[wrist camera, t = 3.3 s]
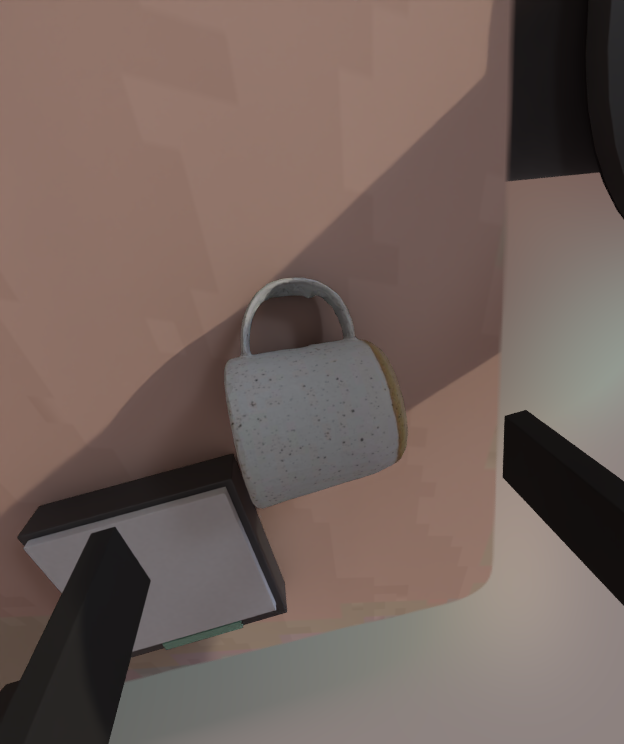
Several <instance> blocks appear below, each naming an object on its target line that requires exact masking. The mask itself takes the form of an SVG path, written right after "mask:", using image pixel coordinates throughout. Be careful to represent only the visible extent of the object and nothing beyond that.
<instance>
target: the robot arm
mask: <svg viewBox="0 0 624 744" xmlns="http://www.w3.org/2000/svg"><path fill="white" fill-rule="evenodd" d="M503 478H504V479H505V480H506V481H507V482H508V483H509V484H510V486H511V487H512V488H513V489H514V490H515V491H516V492H517V493H518V494H519V495H520V496H521V497H522V498H523V499H524V500H525V501H526V502H527V504H528V505H530V507H531V508H532V509H533V510H534V511H535V512H536V513H537V514H538V515H539V516H540V517H541V518H542V519H543V521H544V522H545V523H546V524H547V525H548V526H549V527H550V528H551V529H552V530H553V531H554V532H555V533H556V534H557V535H558V536H559V537H560V539H561V540H562V541H563V542H565V544H566V545H567V546H568V547H569V548H570V549H571V550H572V551H573V552H574V553H575V554H576V556H577V557H578V558H579V559H580V560H581V561H582V562H583V563H584V564H585V565H586V566H587V567H588V568H589V569H590V570H591V571H592V573H593V574H594V575H595V576H596V577H597V578H598V579H599V580H600V581H601V582H602V583H603V584H604V585H605V586H606V587H607V588H608V589H609V591H610V592H611V593H612V594H613V595H614V596H615V597H616V598H617V599H618V600H619V601H620V602H621V603H622V604H623V605H624V481H623V480H621V479H620V478H619V477H617V476H616V475H615V474H613V473H612V472H610V471H609V470H608V469H606V468H605V467H604V466H602V465H601V464H599V463H598V462H597V461H595V460H594V459H593V458H591V457H590V456H588V455H587V454H586V453H584V452H583V451H582V450H580V449H579V448H577V447H576V446H575V445H573V444H572V443H570V442H569V441H568V440H567V439H565V438H564V437H562V436H561V435H560V434H558V433H557V432H556V431H554V430H553V429H551V428H550V427H549V426H547V425H546V424H545V423H543V422H542V421H540V420H539V419H538V418H536V417H535V416H534V415H532V414H531V413H529V412H528V411H527V410H524V411H521V412H517V413H514V414H510V415H507V416H505V423H504V455H503ZM150 582H151V580H150V578H149V577H148V575H147V574H146V572H145V571H144V569H143V568H142V566H141V565H140V563H139V562H138V560H137V559H136V557H135V556H134V554H133V553H132V551H131V550H130V548H129V547H128V545H127V544H126V542H125V541H124V539H123V538H122V536H121V534H120V533H119V531H118V530H117V528H116V527H112V528H108V529H105V530H101V531H98V532H94V533H91V534H90V537H89V539H88V541H87V543H86V545H85V547H84V549H83V551H82V553H81V555H80V557H79V559H78V561H77V563H76V566H75V568H74V570H73V572H72V574H71V576H70V578H69V580H68V582H67V584H66V586H65V588H64V590H63V592H62V595H61V597H60V599H59V601H58V603H57V605H56V607H55V609H54V611H53V613H52V615H51V617H50V619H49V621H48V624H47V626H46V628H45V630H44V632H43V634H42V636H41V638H40V640H39V642H38V644H37V646H36V648H35V650H34V653H33V655H32V657H31V659H30V661H29V663H28V665H27V667H26V669H25V671H24V673H23V675H22V677H21V679H20V681H17V682H13V683H10V684H7V685H5V686H4V688H3V689H2V690H1V692H0V744H108V743H109V739H110V735H111V731H112V727H113V724H114V720H115V716H116V712H117V708H118V704H119V701H120V697H121V693H122V689H123V685H124V682H125V678H126V674H127V670H128V666H129V663H130V659H131V655H132V651H133V647H134V643H135V640H136V636H137V632H138V628H139V624H140V620H141V617H142V613H143V609H144V605H145V601H146V597H147V594H148V590H149V586H150Z"/></svg>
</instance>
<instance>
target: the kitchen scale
mask: <svg viewBox="0 0 624 744" xmlns="http://www.w3.org/2000/svg"><path fill="white" fill-rule="evenodd" d="M112 527H116V528H117V530H118V531H119V533H120V534H121V536H122V538H123V539H124V541H125V542H126V544H127V545H128V547H129V548H130V550H131V551H132V553H133V554H134V556H135V557H136V559H137V560H138V562H139V563H140V565H141V566H142V568H143V569H144V571H145V572H146V574H147V575H148V577H149V578H150V580H151V582H150V586H149V590H148V594H147V597H146V601H145V605H144V609H143V613H142V617H141V620H140V624H139V628H138V632H137V636H136V640H135V643H134V647H133V651H132V655H131V657H135V656H138V655H142V654H145V653H149V652H152V651H155V650H159V649H162V648H165V649H166V650H168V649H172V648H175V647H178V646H182V645H185V644H189V643H192V642H196V641H199V640H202V639H206V638H209V637H213V636H216V635H220V634H223V633H227V632H230V631H233V630H237V629H240V628H243V625H245V624H248V623H252V622H255V621H259V620H262V619H265V618H269V617H272V616H276V615H279V614H283V613H286V612H287V604H286V592H285V582H284V580H283V577H282V575H281V572H280V570H279V567H278V565H277V562H276V560H275V557H274V554H273V552H272V549H271V547H270V544H269V542H268V539H267V537H266V534H265V532H264V529H263V527H262V524H261V522H260V519H259V517H258V514H257V512H256V509H255V507H254V504H253V502H252V500H251V498H250V495H249V492H248V490H247V487H246V485H245V482H244V479H243V476H242V474H241V471H240V469H239V466H238V464H237V461H236V459H235V456H234V454H231V455H227V456H223V457H220V458H216V459H212V460H209V461H205V462H201V463H198V464H194V465H190V466H186V467H183V468H179V469H175V470H172V471H168V472H164V473H160V474H157V475H153V476H149V477H146V478H142V479H138V480H135V481H131V482H127V483H123V484H120V485H116V486H112V487H109V488H105V489H101V490H98V491H94V492H90V493H86V494H83V495H79V496H75V497H72V498H68V499H64V500H60V501H57V502H53V503H49V504H46V505H42V506H39V507H38V509H37V510H36V511H35V513H34V514H33V516H32V517H31V518H30V520H29V521H28V523H27V524H26V525H25V527H24V528H23V530H22V531H21V532H20V534H19V535H18V537H17V538H18V539H19V541H20V542H21V543H22V544H23V545H24V548H23V549H24V550H25V551H26V552H27V554H28V555H29V556H30V557H31V558H32V559H33V561H34V562H35V563H36V564H37V565H38V566H39V567H40V569H41V570H42V571H43V572H44V573H45V574H46V576H47V577H48V578H49V579H50V580H51V581H52V583H53V584H54V585H55V586H56V587H57V588H58V589H59V591H60V592H61V593H62V592H63V590H64V588H65V586H66V584H67V582H68V580H69V578H70V576H71V574H72V572H73V570H74V568H75V566H76V563H77V561H78V559H79V557H80V555H81V553H82V551H83V549H84V547H85V545H86V543H87V541H88V539H89V537H90V534H91V533H94V532H98V531H101V530H105V529H108V528H112Z"/></svg>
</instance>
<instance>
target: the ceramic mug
mask: <svg viewBox="0 0 624 744" xmlns="http://www.w3.org/2000/svg"><path fill="white" fill-rule="evenodd" d="M292 295H298V296H305V297H307V298H312V297H314V296H315V295H316V296H320V297H322V298H323V299H324V300H325V301H326V302H327V303H328V304H330V305H331V306H332V308H333V309H334V311H335V314H336V315H337V317H338V319H339V322H340V325H341V327H342V332H343V336H344V337H343V340H339V341H333V342H326V343H321V344H312V345H309V346H307V347H301V348H295V349H286V350H278V351H273V352H267V353H260V354H255V355H252V354H251V352H250V329H251V324H252V319H253V316H254V314H255V312H256V310H257V308H258V307H259V306H260V305H261V303H262V302H263V301H266V300H268V299H269V298H272V297H282V296H292ZM224 385H225V393H226V402H227V406H228V414H229V419H230V425H231V429H232V434H233V439H234V444H235V448H236V452H237V457H238V461H239V464H240V468H241V471H242V475H243V479H244V481H245V485H246V487H247V490H248V492H249V495H250V498H251V500H252V502H253V504H254V505H255V506H256V507H258V508H266V507H269V506H272V505H275V504H278V503H281V502H284V501H287V500H290V499H294V498H297V497H300V496H303V495H307V494H310V493H313V492H317V491H320V490H323V489H326V488H329V487H332V486H335V485H339V484H342V483H345V482H348V481H352V480H355V479H359V478H362V477H365V476H368V475H371V474H374V473H377V472H379V471H381V470H383V469H385V468H387V467H389V466H391V465H393V464H394V463H396V462H397V461H398V460H400V458H401V457H402V455H403V453H404V451H405V448H406V445H407V436H408V430H407V418H406V412H405V407H404V402H403V397H402V394H401V391H400V388H399V385H398V381H397V378H396V375H395V373H394V371H393V368H392V366H391V364H390V362H389V361H388V359H387V357H386V356H385V355H384V353H383V352H382V351H381V350H380V349H379V348H378V347H376V346H375V345H374V344H372V343H371V342H368V341H366V340H359V339H357V338H356V337H355V334H354V327H353V322H352V319H351V317H350V314H349V311H348V309H347V307H346V306H345V304H344V302H343V301H342V299H341V298H340V297H339V295H338V294H337V293H336V292H334V291H333V290H332V289H330V288H329V287H328V286H326V285H324V284H322V283H320V282H318V281H316V280H313V279H307V278H285V279H280V280H277V281H274V282H271V283H269V284H267V285H266V286H265V287H263V288H262V289H261V290H260V291H258V292H257V293H256V294H255V296H254V297H253V299H252V300H251V302H250V303H249V305H248V307H247V309H246V312H245V314H244V318H243V321H242V327H241V355H240V357H237V358H233V359H230V360H228V361H227V363H226V365H225V368H224Z"/></svg>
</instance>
